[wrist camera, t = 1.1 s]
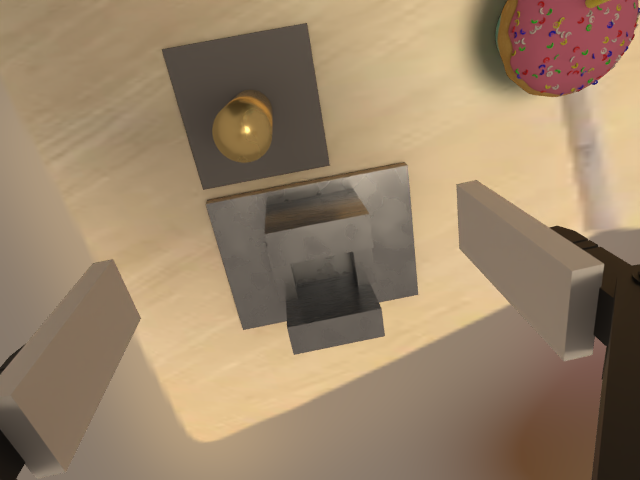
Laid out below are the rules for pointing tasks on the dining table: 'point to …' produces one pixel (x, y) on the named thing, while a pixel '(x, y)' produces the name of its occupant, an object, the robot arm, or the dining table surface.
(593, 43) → the cupcake
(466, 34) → the dining table surface
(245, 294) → the bracket
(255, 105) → the peg
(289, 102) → the mat
